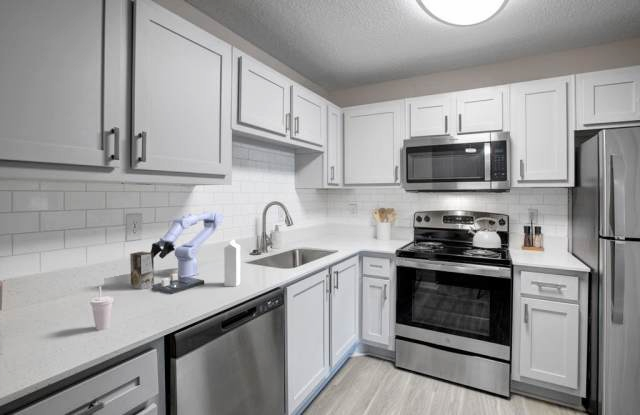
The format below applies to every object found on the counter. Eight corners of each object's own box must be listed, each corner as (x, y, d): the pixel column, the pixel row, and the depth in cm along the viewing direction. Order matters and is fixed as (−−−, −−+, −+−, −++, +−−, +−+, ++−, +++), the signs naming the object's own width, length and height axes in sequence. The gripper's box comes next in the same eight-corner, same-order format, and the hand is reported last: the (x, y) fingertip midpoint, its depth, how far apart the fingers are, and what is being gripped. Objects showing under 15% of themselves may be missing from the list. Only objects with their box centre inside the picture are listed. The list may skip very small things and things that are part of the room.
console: (185, 280, 165) (185, 274, 165) (204, 284, 158) (204, 277, 158) (152, 289, 150) (152, 282, 150) (171, 294, 143) (171, 287, 143)
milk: (224, 286, 156) (223, 241, 155) (229, 282, 162) (228, 239, 161) (236, 286, 155) (236, 241, 154) (240, 283, 161) (240, 239, 160)
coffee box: (154, 286, 154) (154, 252, 154) (141, 289, 149) (140, 255, 148) (143, 283, 159) (143, 251, 158) (130, 286, 153) (129, 253, 153)
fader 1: (167, 284, 150) (167, 277, 149) (169, 285, 149) (169, 278, 149) (161, 286, 147) (161, 279, 147) (164, 286, 146) (164, 279, 146)
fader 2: (175, 279, 159) (175, 272, 159) (177, 279, 158) (177, 273, 158) (170, 280, 157) (170, 273, 156) (172, 280, 156) (172, 274, 156)
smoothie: (98, 323, 110) (97, 283, 110) (118, 323, 111) (117, 283, 110) (86, 332, 104) (85, 289, 103) (107, 331, 104) (106, 289, 104)
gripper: (156, 231, 166) (140, 252, 157) (176, 230, 159) (159, 251, 150) (166, 240, 170) (150, 261, 161) (185, 239, 163) (169, 261, 154)
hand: (155, 257), depth 156 cm, fingers open, 7 cm apart
